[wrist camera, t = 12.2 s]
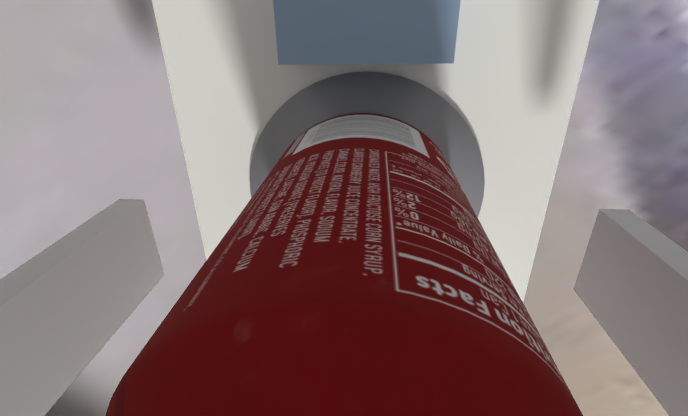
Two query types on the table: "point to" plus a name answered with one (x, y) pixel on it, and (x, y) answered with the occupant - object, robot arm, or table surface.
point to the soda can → (350, 297)
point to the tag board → (379, 94)
